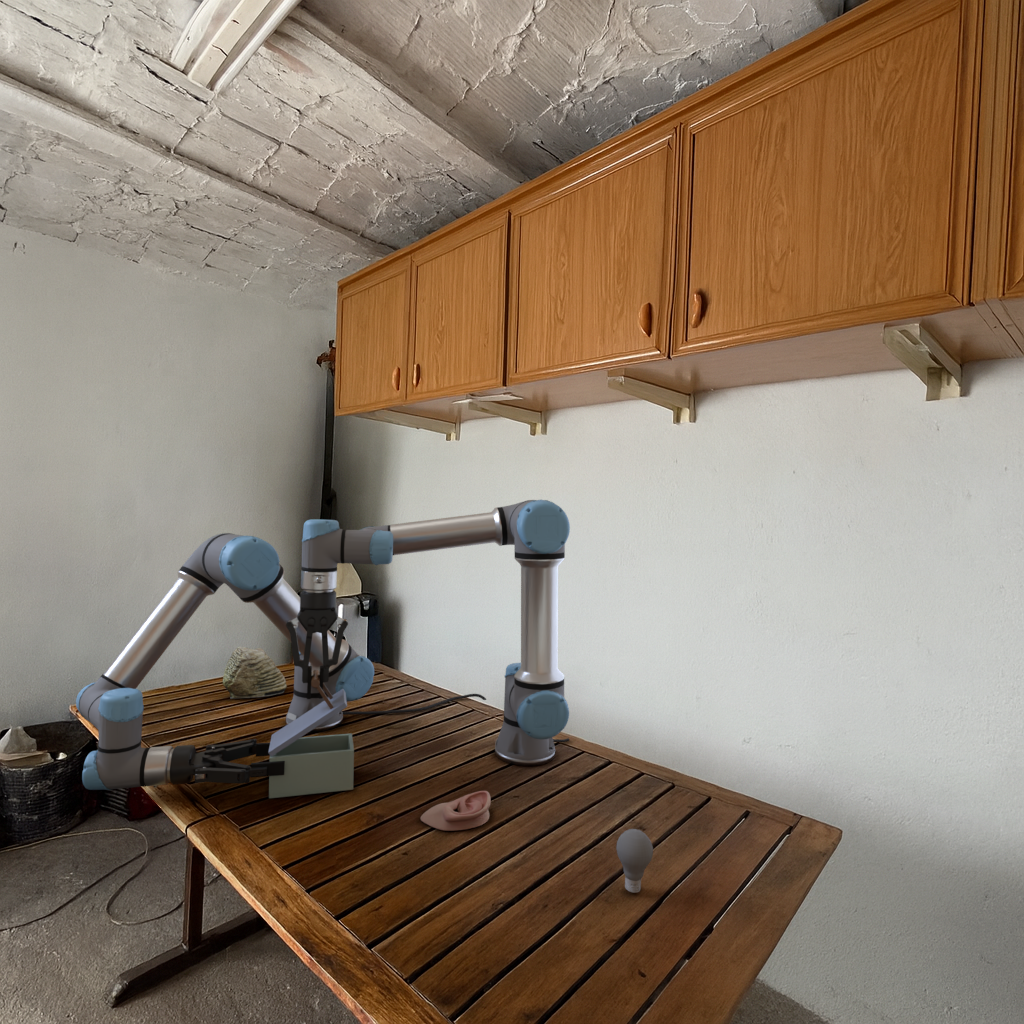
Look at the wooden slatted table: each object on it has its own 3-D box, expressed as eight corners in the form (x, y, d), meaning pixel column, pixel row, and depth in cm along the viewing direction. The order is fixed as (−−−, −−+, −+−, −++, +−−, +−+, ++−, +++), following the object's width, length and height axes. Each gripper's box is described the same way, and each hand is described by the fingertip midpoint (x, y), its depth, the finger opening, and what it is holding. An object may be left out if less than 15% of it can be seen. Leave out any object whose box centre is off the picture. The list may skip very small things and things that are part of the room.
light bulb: (610, 879, 108) (613, 822, 108) (644, 879, 109) (647, 822, 109) (619, 902, 102) (622, 840, 102) (655, 901, 103) (658, 840, 103)
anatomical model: (415, 806, 123) (434, 781, 134) (414, 826, 123) (433, 799, 134) (481, 816, 120) (495, 789, 132) (480, 836, 120) (494, 808, 132)
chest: (351, 770, 147) (351, 733, 146) (353, 789, 137) (354, 750, 137) (272, 777, 142) (273, 739, 141) (268, 798, 132) (269, 757, 132)
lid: (345, 692, 146) (325, 661, 144) (347, 706, 136) (325, 673, 135) (274, 738, 142) (252, 707, 140) (271, 757, 132) (247, 723, 130)
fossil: (218, 695, 195) (220, 647, 195) (278, 685, 208) (279, 640, 207) (228, 703, 189) (230, 653, 188) (289, 692, 201) (290, 645, 201)
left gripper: (183, 760, 142) (287, 754, 149) (157, 809, 120) (281, 798, 127) (184, 727, 142) (289, 722, 148) (159, 770, 120) (283, 761, 127)
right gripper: (281, 592, 133) (277, 704, 133) (354, 592, 137) (350, 700, 137) (283, 587, 140) (280, 693, 140) (352, 587, 144) (348, 690, 145)
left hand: (285, 757), depth 138 cm, fingers closed on chest, 10 cm apart
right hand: (314, 696), depth 139 cm, fingers closed on lid, 2 cm apart
